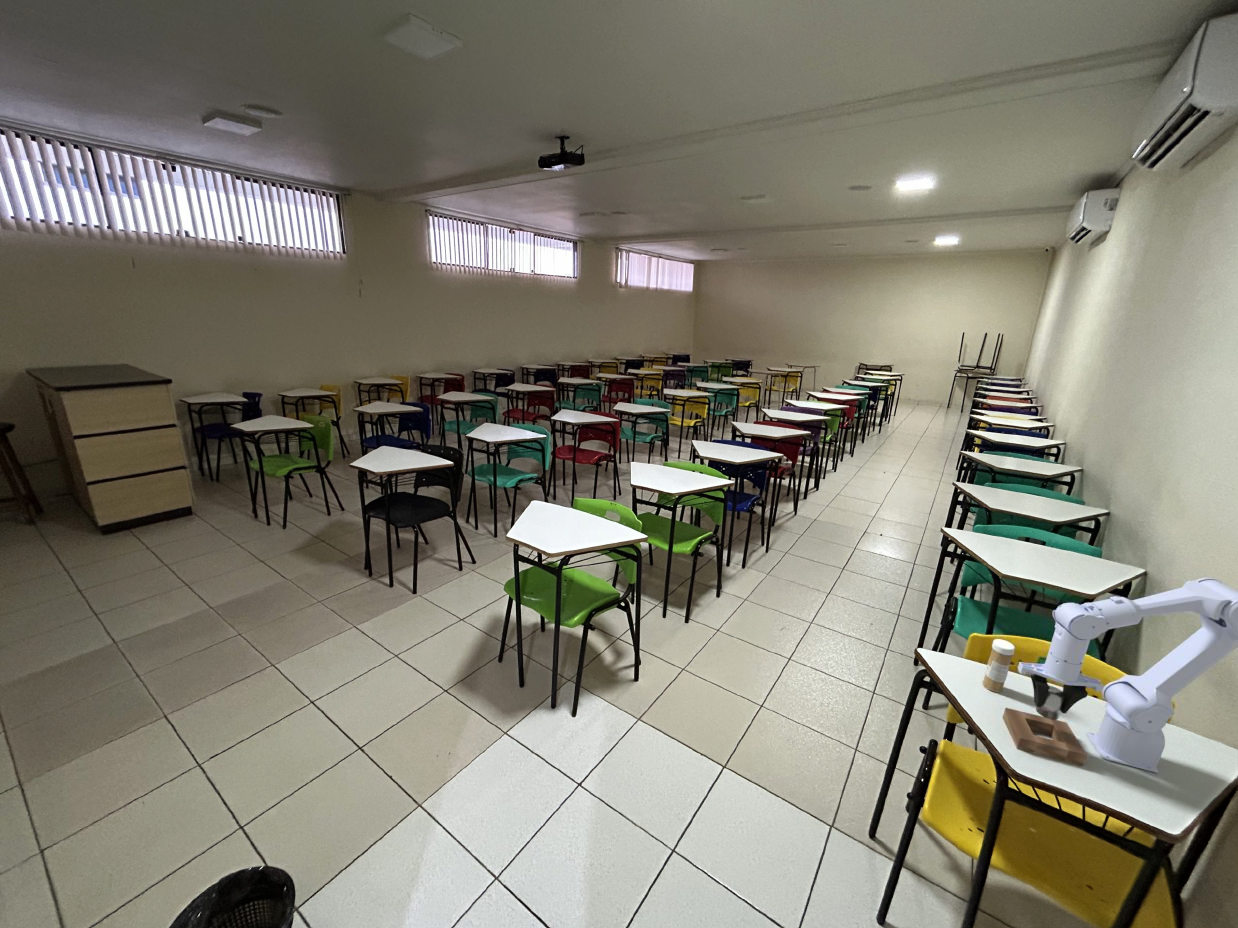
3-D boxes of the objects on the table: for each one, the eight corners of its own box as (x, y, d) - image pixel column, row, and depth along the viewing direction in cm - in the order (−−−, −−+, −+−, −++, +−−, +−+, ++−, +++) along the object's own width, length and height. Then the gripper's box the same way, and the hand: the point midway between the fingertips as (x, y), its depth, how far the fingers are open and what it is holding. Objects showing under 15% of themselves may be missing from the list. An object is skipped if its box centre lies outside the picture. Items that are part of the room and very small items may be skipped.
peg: (1054, 710, 115) (1060, 688, 114) (1061, 721, 112) (1068, 699, 110) (1033, 704, 117) (1039, 683, 115) (1039, 716, 113) (1046, 693, 112)
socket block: (1063, 732, 118) (1066, 722, 117) (1083, 765, 109) (1086, 754, 108) (1002, 717, 122) (1005, 707, 121) (1016, 748, 113) (1020, 737, 112)
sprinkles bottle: (985, 678, 136) (996, 636, 132) (1005, 688, 132) (1017, 644, 128) (979, 686, 133) (991, 642, 129) (1000, 695, 129) (1012, 651, 126)
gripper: (1098, 654, 111) (1081, 704, 114) (1019, 637, 116) (1005, 686, 120) (1114, 673, 104) (1096, 726, 108) (1030, 655, 110) (1015, 706, 113)
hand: (1049, 707), depth 113 cm, fingers closed on peg, 4 cm apart
